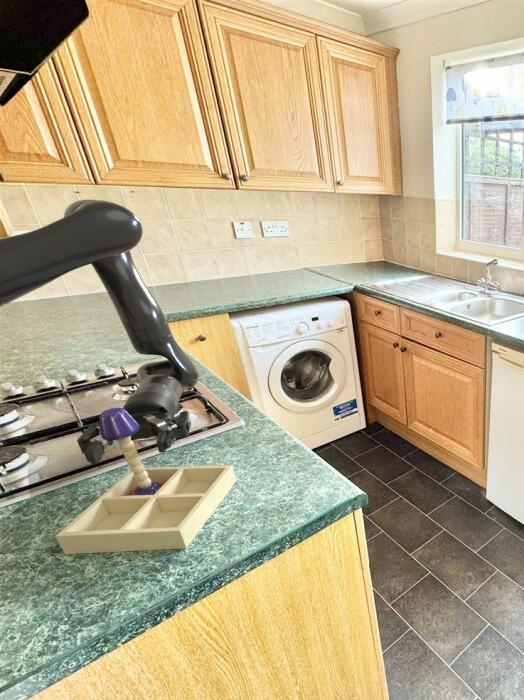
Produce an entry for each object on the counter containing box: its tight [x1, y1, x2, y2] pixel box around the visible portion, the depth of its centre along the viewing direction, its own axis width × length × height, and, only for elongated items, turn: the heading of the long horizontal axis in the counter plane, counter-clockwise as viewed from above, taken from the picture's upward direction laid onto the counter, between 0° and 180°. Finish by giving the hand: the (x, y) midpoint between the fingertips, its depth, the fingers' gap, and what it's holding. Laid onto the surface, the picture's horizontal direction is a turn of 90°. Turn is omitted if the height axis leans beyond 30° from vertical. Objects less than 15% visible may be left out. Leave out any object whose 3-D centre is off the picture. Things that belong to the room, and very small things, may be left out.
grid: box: [55, 464, 238, 555], centre depth 69 cm, size 16×16×4 cm
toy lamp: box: [99, 407, 162, 496], centre depth 69 cm, size 5×5×17 cm
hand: (127, 453), depth 67 cm, fingers open, 8 cm apart
